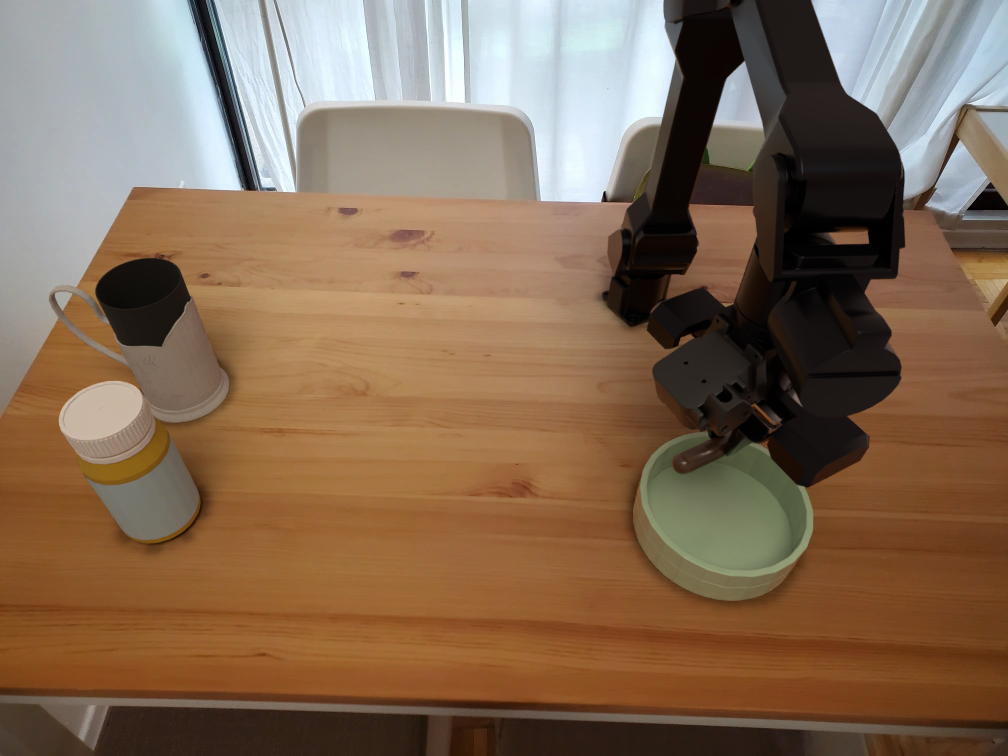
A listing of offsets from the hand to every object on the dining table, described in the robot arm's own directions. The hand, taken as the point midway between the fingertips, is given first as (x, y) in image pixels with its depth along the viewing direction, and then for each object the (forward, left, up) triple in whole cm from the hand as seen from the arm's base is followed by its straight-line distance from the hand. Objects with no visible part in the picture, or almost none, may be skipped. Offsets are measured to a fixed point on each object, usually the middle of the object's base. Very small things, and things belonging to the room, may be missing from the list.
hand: (721, 445), depth 61 cm
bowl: (0, +2, -10) cm, 10 cm away
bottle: (+45, -23, -10) cm, 51 cm away
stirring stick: (0, 0, -1) cm, 1 cm away
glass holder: (+42, -39, -10) cm, 58 cm away
